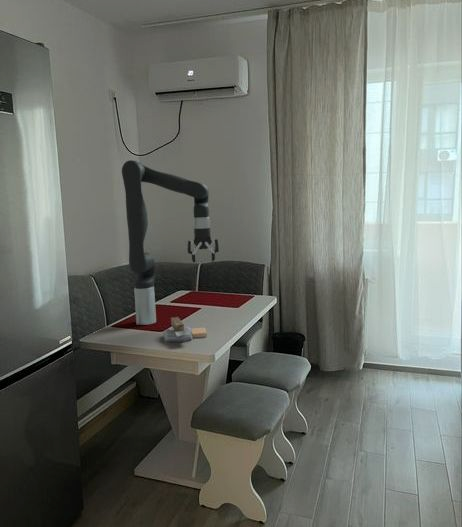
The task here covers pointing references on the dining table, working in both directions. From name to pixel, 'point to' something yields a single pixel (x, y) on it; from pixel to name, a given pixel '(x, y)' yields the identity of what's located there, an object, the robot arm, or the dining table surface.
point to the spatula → (179, 328)
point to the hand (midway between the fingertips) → (203, 262)
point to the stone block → (171, 337)
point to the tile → (198, 332)
